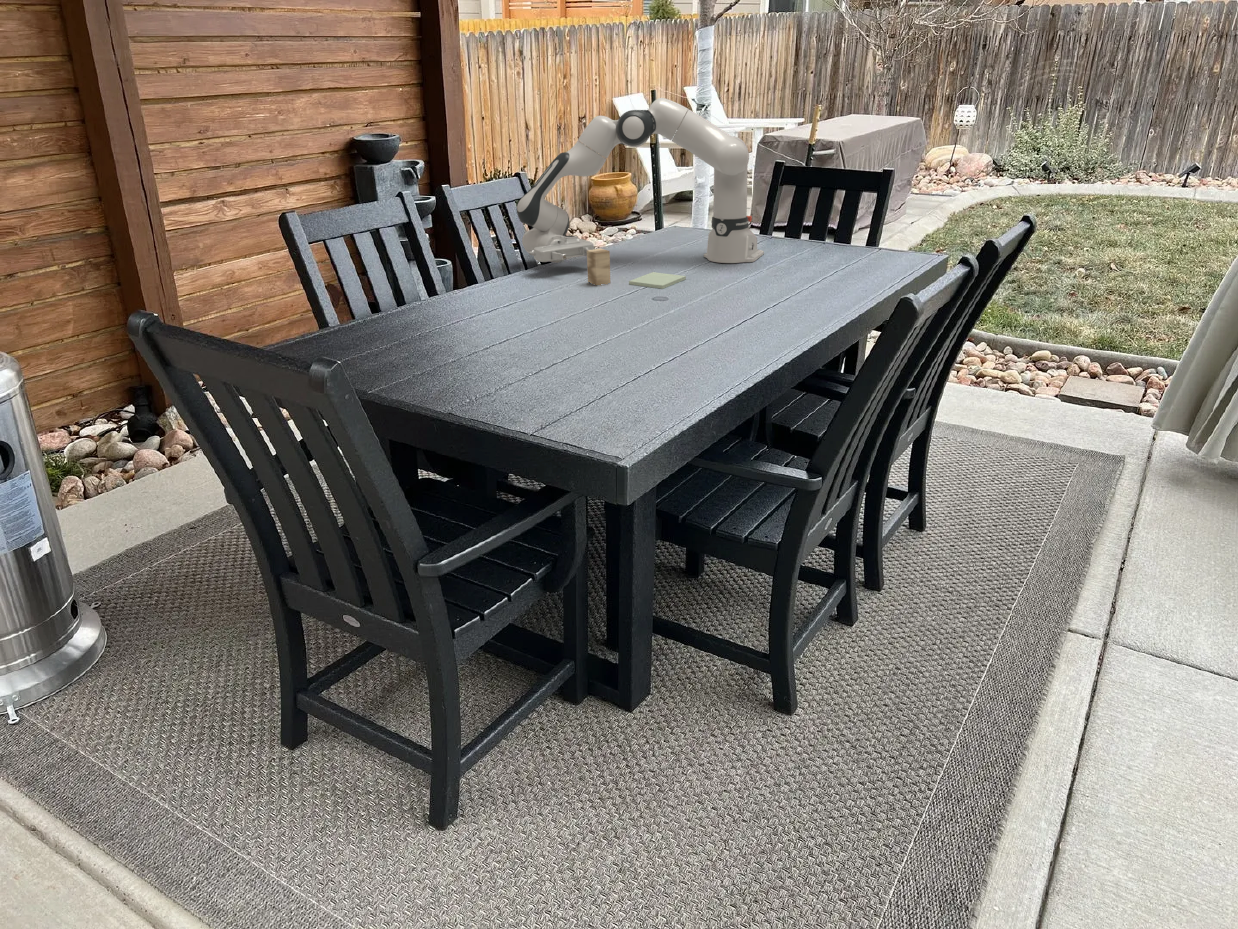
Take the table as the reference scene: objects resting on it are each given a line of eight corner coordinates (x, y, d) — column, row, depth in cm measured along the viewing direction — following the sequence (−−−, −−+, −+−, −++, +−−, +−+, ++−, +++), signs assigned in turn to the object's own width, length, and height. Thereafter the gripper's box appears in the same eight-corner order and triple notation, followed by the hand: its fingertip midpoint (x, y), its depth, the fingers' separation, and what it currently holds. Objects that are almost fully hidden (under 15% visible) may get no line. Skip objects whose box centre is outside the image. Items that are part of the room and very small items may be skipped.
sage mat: (652, 275, 292) (652, 272, 292) (685, 279, 286) (685, 276, 286) (628, 284, 282) (628, 281, 281) (662, 288, 276) (662, 285, 275)
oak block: (588, 283, 285) (586, 250, 280) (601, 280, 287) (600, 248, 283) (596, 285, 281) (595, 253, 277) (610, 283, 283) (609, 250, 279)
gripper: (525, 242, 294) (547, 249, 284) (579, 234, 305) (603, 241, 294) (526, 262, 297) (548, 269, 286) (580, 254, 307) (603, 260, 297)
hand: (576, 255), depth 290 cm, fingers open, 8 cm apart
